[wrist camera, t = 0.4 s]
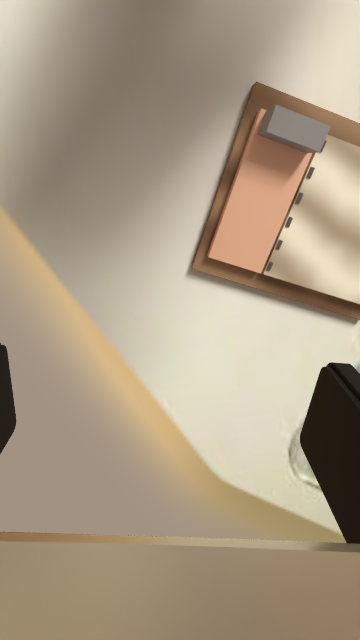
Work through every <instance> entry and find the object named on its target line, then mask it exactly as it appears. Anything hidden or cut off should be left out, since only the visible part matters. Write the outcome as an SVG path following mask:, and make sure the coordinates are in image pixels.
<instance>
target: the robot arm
mask: <svg viewBox="0 0 360 640" xmlns="http://www.w3.org/2000/svg"><path fill="white" fill-rule="evenodd" d="M15 426H16V414H15V407H14V399H13V392H12V385H11V377H10V370H9V362H8V354H7V349H6V346H4V345H1V343H0V454H1V452H2V450H3V449H4V447H5V445H6V444H7V442H8V440H9V438H10V437H11V435H12V433H13V432H14V429H15ZM300 443H301V447H302V449H303V451H304V453H305V455H306V458H307V460H308V462H309V464H310V466H311V468H312V470H313V472H314V475H315V477H316V479H317V481H318V483H319V485H320V487H321V489H322V492H323V494H324V496H325V498H326V500H327V502H328V504H329V506H330V509H331V511H332V513H333V515H334V517H335V519H336V521H337V523H338V526H339V528H340V530H341V532H342V534H343V536H344V538H345V540H346V542H347V543H326V542H300V541H298V542H297V541H274V540H249V539H219V538H218V539H217V538H191V537H161V536H159V537H158V536H129V535H128V536H127V535H96V534H61V533H23V532H0V640H360V374H359V373H358V372H357V370H356V369H355V368H354V367H353V366H352V365H350V364H345V363H329V364H328V365H327V366H326V367H323V368H322V369H321V371H320V374H319V377H318V380H317V383H316V386H315V390H314V393H313V396H312V399H311V402H310V406H309V409H308V412H307V415H306V418H305V422H304V425H303V428H302V431H301V435H300Z"/></svg>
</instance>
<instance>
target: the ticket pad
mask: <svg viewBox="0 0 360 640" xmlns="http://www.w3.org/2000/svg"><path fill="white" fill-rule="evenodd" d="M275 105H278V106H281V107H283V108H286V109H289V110H291V111H294V112H296V113H299V114H301V115H304V116H306V117H309V118H311V119H314V120H316V121H319V122H321V123H324V124H326V125H329V126H331V128H330V130H329V132H328V135H327V137H326V139H325V141H324V144H323V146H322V148H321V151H320V152H315V153H312V156H311V158H310V160H309V163H308V165H307V167H306V170H305V172H304V174H303V177H302V179H301V181H300V184H299V186H298V188H297V191H296V193H295V195H294V198H293V200H292V202H291V205H290V207H289V209H288V212H287V214H286V216H285V219H284V221H283V223H282V226H281V228H280V230H279V233H278V235H277V237H276V240H275V242H274V244H273V247H272V249H271V251H270V254H269V256H268V258H267V261H266V263H265V265H264V268H263V270H262V272H261V273H257V272H254V271H251V270H248V269H245V268H241V267H238V266H235V265H232V264H229V263H225V262H222V261H219V260H216V259H212V258H209V257H208V255H207V254H208V251H209V248H210V245H211V243H212V240H213V237H214V234H215V231H216V228H217V226H218V223H219V220H220V217H221V214H222V211H223V209H224V206H225V203H226V200H227V197H228V194H229V192H230V189H231V186H232V183H233V180H234V177H235V175H236V172H237V169H238V166H239V163H240V160H241V158H242V155H243V152H244V149H245V146H246V143H247V141H248V138H249V135H250V132H251V129H252V126H253V124H254V121H255V118H256V115H257V112H258V110H260V109H261V108H262V109H264V110H268V109H270V108H271V107H273V106H275ZM192 269H195V270H198V271H201V272H205V273H208V274H211V275H214V276H218V277H221V278H224V279H228V280H231V281H234V282H238V283H241V284H244V285H247V286H251V287H254V288H257V289H261V290H264V291H267V292H270V293H274V294H277V295H280V296H284V297H287V298H290V299H293V300H297V301H300V302H303V303H307V304H310V305H313V306H316V307H320V308H323V309H326V310H330V311H333V312H336V313H339V314H343V315H346V316H349V317H353V318H356V319H359V320H360V123H357V122H355V121H352V120H350V119H347V118H345V117H342V116H340V115H338V114H335V113H333V112H330V111H328V110H325V109H323V108H320V107H318V106H315V105H313V104H310V103H308V102H305V101H303V100H300V99H298V98H295V97H293V96H290V95H288V94H286V93H283V92H281V91H278V90H276V89H273V88H271V87H268V86H266V85H263V84H261V83H258V82H256V83H255V84H254V85H253V87H252V90H251V93H250V96H249V99H248V102H247V105H246V108H245V111H244V114H243V117H242V120H241V123H240V126H239V129H238V132H237V135H236V137H235V140H234V143H233V146H232V149H231V152H230V155H229V158H228V161H227V164H226V167H225V170H224V173H223V176H222V179H221V182H220V185H219V188H218V191H217V193H216V196H215V199H214V202H213V205H212V208H211V211H210V214H209V217H208V220H207V223H206V226H205V229H204V232H203V235H202V238H201V241H200V244H199V246H198V249H197V252H196V255H195V258H194V261H193V264H192Z"/></svg>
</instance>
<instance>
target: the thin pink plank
mask: <svg viewBox="0 0 360 640" xmlns="http://www.w3.org/2000/svg"><path fill="white" fill-rule="evenodd" d="M330 128H331V126H329V125H326V124H324V123H321V122H319V121H316V120H314V119H311V118H309V117H306V116H304V115H301V114H299V113H296V112H294V111H291V110H289V109H286V108H283V107H281V106H278V105H275V106H273V107H271V108H270V109H268V110H264V109H262V108H261V109H260V110H258V112H257V115H256V118H255V121H254V124H253V126H252V129H251V132H250V135H249V138H248V141H247V143H246V146H245V149H244V152H243V155H242V158H241V160H240V163H239V166H238V169H237V172H236V175H235V177H234V180H233V183H232V186H231V189H230V192H229V194H228V197H227V200H226V203H225V206H224V209H223V211H222V214H221V217H220V220H219V223H218V226H217V228H216V231H215V234H214V237H213V240H212V243H211V245H210V248H209V251H208V254H207V255H208V257H209V258H212V259H216V260H219V261H222V262H225V263H229V264H232V265H235V266H238V267H241V268H245V269H248V270H251V271H254V272H257V273H261V272H262V270H263V268H264V265H265V263H266V261H267V258H268V256H269V254H270V251H271V249H272V247H273V244H274V242H275V240H276V237H277V235H278V233H279V230H280V228H281V226H282V223H283V221H284V219H285V216H286V214H287V212H288V209H289V207H290V205H291V202H292V200H293V198H294V195H295V193H296V191H297V188H298V186H299V184H300V181H301V179H302V177H303V174H304V172H305V170H306V167H307V165H308V163H309V160H310V158H311V156H312V153H315V152H320V151H321V148H322V146H323V144H324V141H325V139H326V137H327V135H328V132H329V130H330Z"/></svg>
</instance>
